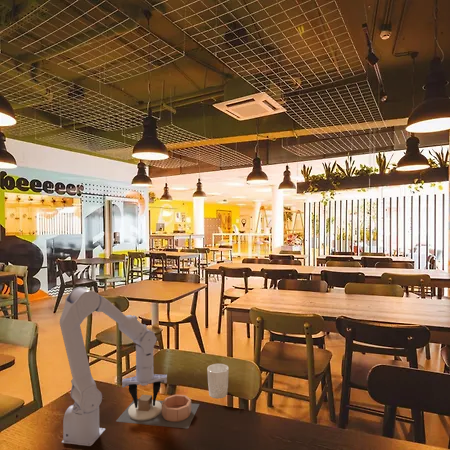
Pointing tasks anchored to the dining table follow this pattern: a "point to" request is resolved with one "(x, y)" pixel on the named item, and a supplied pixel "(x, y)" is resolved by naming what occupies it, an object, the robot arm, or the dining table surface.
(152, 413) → the lid
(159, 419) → the mat
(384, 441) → the dining table surface
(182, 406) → the bowl
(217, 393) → the white cup
